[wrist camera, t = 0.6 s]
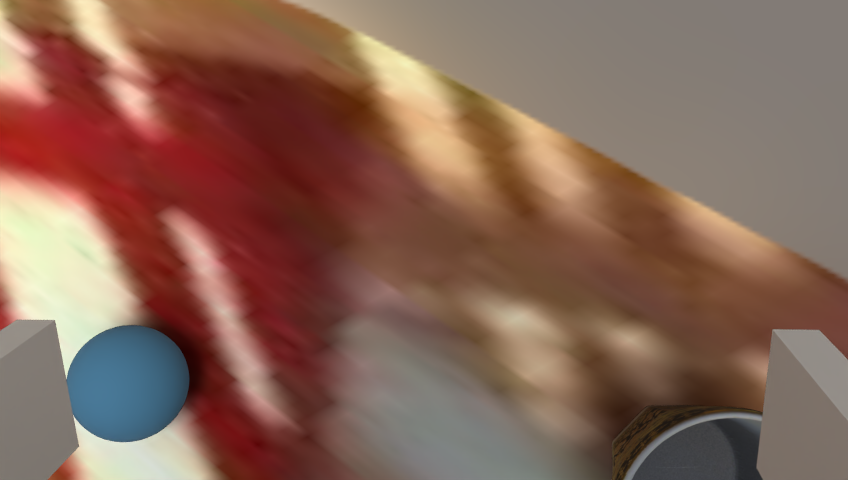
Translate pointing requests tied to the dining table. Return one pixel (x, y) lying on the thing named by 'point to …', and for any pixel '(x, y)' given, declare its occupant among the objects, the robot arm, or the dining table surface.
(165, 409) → the ball
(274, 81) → the dining table surface
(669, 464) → the ceramic cup
